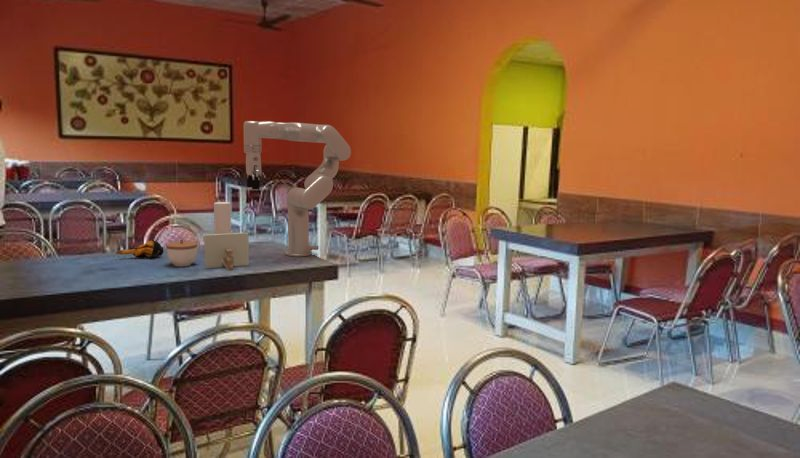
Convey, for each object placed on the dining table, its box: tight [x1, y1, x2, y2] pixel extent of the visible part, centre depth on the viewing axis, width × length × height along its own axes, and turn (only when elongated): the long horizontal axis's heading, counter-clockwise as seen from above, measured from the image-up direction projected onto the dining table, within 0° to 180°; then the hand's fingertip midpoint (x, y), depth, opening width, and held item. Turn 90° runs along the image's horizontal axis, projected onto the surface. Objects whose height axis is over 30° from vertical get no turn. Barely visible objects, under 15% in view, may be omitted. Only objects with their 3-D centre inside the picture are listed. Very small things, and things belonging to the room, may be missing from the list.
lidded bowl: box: [165, 238, 198, 267], centre depth 262 cm, size 13×13×11 cm
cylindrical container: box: [213, 201, 232, 234], centre depth 278 cm, size 7×7×25 cm
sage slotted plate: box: [203, 232, 250, 269], centre depth 261 cm, size 18×2×14 cm, turn 116°
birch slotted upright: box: [222, 249, 234, 271], centre depth 261 cm, size 2×15×8 cm, turn 27°
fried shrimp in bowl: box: [116, 238, 164, 260], centre depth 273 cm, size 9×11×18 cm
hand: (253, 188), depth 272 cm, fingers open, 9 cm apart
